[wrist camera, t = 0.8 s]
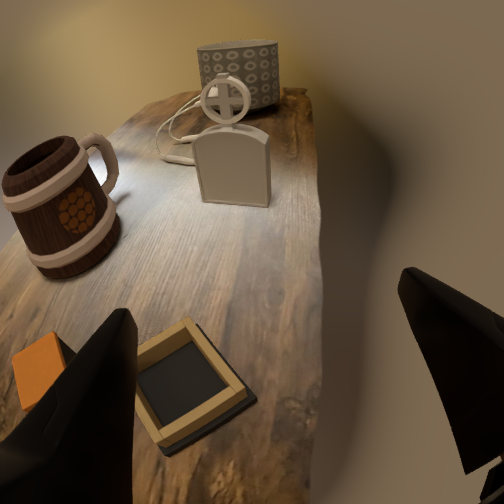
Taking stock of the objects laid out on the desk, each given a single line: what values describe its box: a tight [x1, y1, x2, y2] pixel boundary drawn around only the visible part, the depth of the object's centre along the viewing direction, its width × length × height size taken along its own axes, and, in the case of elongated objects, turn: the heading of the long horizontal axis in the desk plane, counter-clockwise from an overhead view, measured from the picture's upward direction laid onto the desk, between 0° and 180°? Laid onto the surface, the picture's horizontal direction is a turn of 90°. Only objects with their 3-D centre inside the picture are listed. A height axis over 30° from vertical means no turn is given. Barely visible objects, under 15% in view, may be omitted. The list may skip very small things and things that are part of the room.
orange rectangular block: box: [12, 331, 76, 412], centre depth 19 cm, size 5×5×8 cm
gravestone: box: [191, 73, 271, 208], centre depth 35 cm, size 3×9×18 cm, turn 76°
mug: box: [2, 133, 120, 279], centre depth 34 cm, size 20×15×15 cm
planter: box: [197, 40, 280, 115], centre depth 63 cm, size 19×19×18 cm
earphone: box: [155, 76, 234, 165], centre depth 51 cm, size 14×17×18 cm
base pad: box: [135, 316, 257, 457], centre depth 22 cm, size 9×9×4 cm
